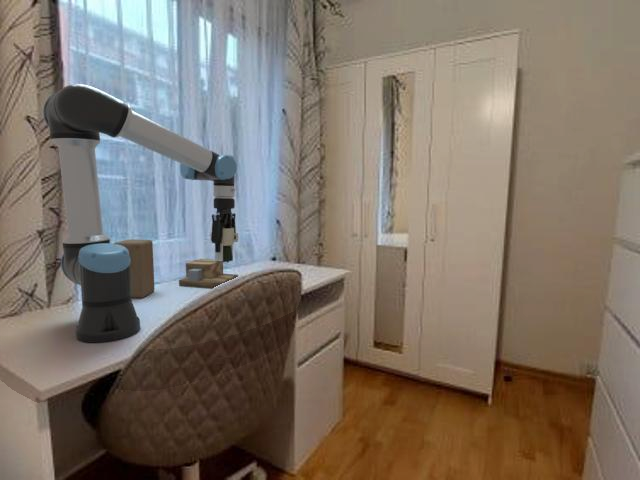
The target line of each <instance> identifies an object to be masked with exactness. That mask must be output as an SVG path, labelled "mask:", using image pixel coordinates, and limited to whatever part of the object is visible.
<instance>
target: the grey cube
mask: <svg viewBox="0 0 640 480" xmlns="http://www.w3.org/2000/svg"><path fill="white" fill-rule="evenodd" d="M201 279H203V270H202V269H191V270H188V280H191V281H198V280H201Z"/></svg>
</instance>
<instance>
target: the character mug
mask: <svg viewBox="0 0 640 480" xmlns="http://www.w3.org/2000/svg"><path fill="white" fill-rule="evenodd" d="M209 234H210V235H209V236H210V240H211V236H212V231H210V233H209ZM234 236H236V239H234ZM238 242H239V233H238V232H236V233H234V228H223V237H222V242H221V243H223V261H217V262H223V263H227V264H229V263H230V262H233V261H234V254H233V255H232V249H231V247H230V245H233V246H234V243H238Z"/></svg>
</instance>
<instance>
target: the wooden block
mask: <svg viewBox="0 0 640 480" xmlns="http://www.w3.org/2000/svg"><path fill="white" fill-rule="evenodd" d="M113 244H118V245H122V246H124V247H126V248H127V249H128V251H129V257H130V259H131V263H130V271H131V293H132V299H138V298H139V299H142V298H145V297H147V296H148V295H150V294H152V293H153V292H155V273H154V272H155V271H154V270H155V268H154V267H155V265H154V249H153V248H154V247H153V246H154V244H153V240H151V239H129V238H128V239H123V240H121V241H116V242H114V243H113Z"/></svg>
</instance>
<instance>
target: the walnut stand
mask: <svg viewBox="0 0 640 480" xmlns="http://www.w3.org/2000/svg"><path fill="white" fill-rule="evenodd" d="M191 269H202V270H203V279H201V280H198V281H191V280H188V270H191ZM236 277H238V278H239V275H238V274H232V273H224V262H217V261H215V259H213V258H212V259H209V258H198V259H195V260H191V261H188V262H186V263H185V277H183V278H180V279H179V280H178V286H179V287H188V288H198V289H199V288H201V289H210V290H211V289H212V288H214V287H216V286H218V285H220V284H222V283H225V282H227V281H229V280H232V279H234V278H236Z"/></svg>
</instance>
